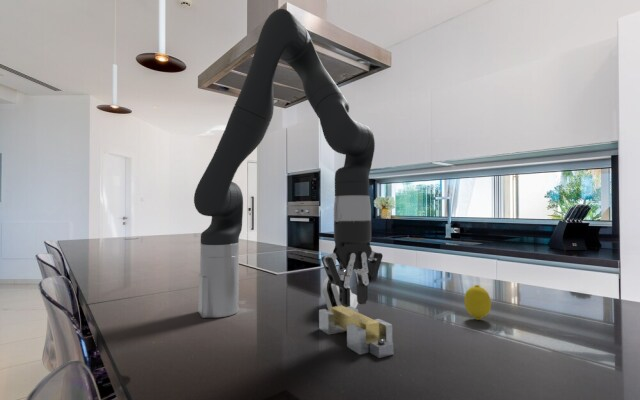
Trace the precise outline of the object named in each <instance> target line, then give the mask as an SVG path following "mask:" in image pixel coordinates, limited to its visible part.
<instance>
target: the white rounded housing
mask: <svg viewBox="0 0 640 400" xmlns="http://www.w3.org/2000/svg"><path fill="white" fill-rule="evenodd" d="M348 288H350V306H351V307H353V308H356V309H357V307H358V305H359V303H358V302H357V294H355V293H353V292H352V290H351V287H350V286H349V287H348ZM322 294H323V297H324V301H325V303H326V304H325V305H326V307H327V310H328V311H330V307H335V306H341V305H342V304H341V303H340V301H339V286H337V285H334V284H331V283H330V281H329V278H328V276H327V277H326V278H324V281H323V284H322Z"/></svg>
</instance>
